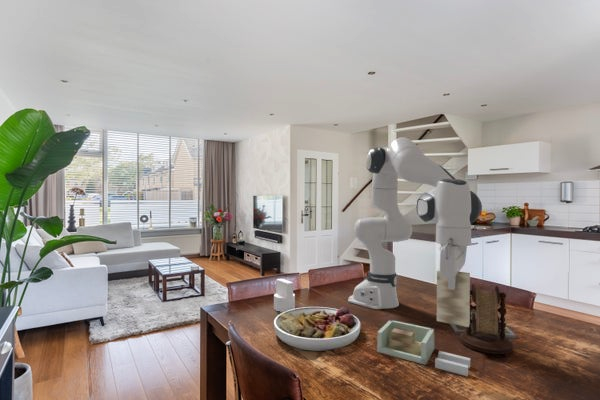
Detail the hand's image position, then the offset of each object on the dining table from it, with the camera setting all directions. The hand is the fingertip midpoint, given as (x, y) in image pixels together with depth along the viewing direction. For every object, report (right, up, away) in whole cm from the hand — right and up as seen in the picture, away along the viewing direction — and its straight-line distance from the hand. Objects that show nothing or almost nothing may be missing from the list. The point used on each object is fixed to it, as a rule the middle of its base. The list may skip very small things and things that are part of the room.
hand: (453, 287), depth 90 cm
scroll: (+17, -23, +14) cm, 32 cm away
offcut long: (-10, -22, +10) cm, 26 cm away
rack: (-10, -23, +10) cm, 27 cm away
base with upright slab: (-49, -23, +50) cm, 74 cm away
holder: (0, -23, 0) cm, 23 cm away
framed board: (+25, -24, +37) cm, 51 cm away
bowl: (-36, -23, +24) cm, 49 cm away
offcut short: (-11, -19, +10) cm, 24 cm away
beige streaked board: (0, -10, 0) cm, 10 cm away
